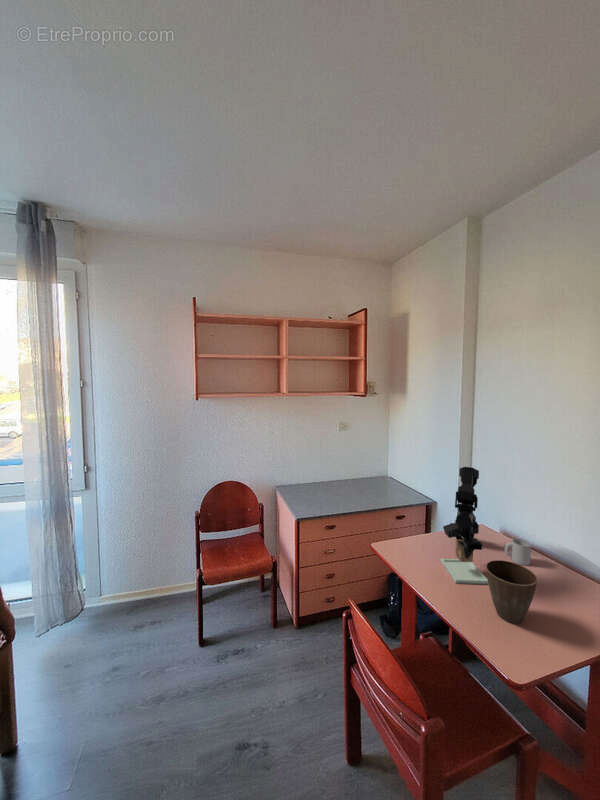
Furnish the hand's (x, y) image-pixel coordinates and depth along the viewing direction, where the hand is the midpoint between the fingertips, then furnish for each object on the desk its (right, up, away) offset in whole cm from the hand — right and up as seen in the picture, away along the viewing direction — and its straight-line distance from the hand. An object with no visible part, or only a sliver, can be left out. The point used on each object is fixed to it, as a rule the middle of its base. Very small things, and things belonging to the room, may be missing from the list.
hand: (464, 555), depth 139 cm
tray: (0, -8, 0) cm, 8 cm away
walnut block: (0, -2, 0) cm, 2 cm away
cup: (+29, -8, +10) cm, 32 cm away
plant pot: (+3, -9, -26) cm, 28 cm away
